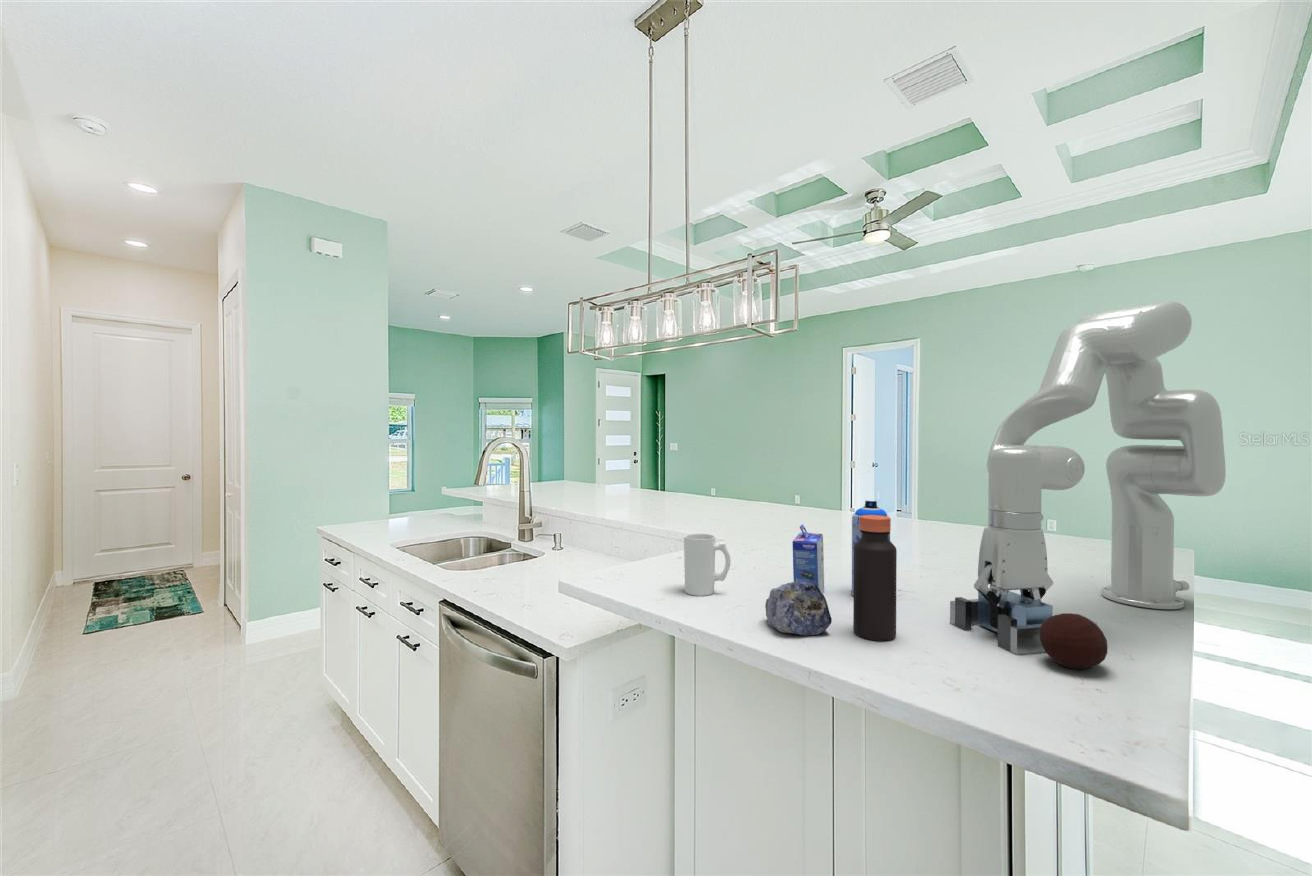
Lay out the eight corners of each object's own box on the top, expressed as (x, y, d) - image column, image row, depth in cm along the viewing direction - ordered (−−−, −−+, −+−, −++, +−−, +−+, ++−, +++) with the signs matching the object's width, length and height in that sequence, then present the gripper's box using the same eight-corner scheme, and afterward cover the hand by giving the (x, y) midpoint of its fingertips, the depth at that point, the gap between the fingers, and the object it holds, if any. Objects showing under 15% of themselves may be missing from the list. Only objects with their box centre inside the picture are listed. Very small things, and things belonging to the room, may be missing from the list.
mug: (680, 595, 117) (680, 538, 117) (688, 586, 123) (688, 532, 123) (727, 599, 114) (727, 541, 114) (733, 590, 120) (733, 535, 120)
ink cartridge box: (798, 586, 123) (799, 521, 123) (824, 589, 121) (824, 523, 121) (791, 598, 114) (791, 528, 114) (819, 602, 112) (819, 530, 112)
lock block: (1002, 621, 99) (1002, 587, 99) (1052, 642, 90) (1052, 604, 89) (978, 623, 98) (978, 589, 98) (1026, 645, 89) (1026, 606, 88)
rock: (845, 620, 94) (814, 568, 95) (797, 654, 91) (766, 601, 92) (816, 613, 104) (789, 566, 105) (773, 643, 102) (745, 595, 102)
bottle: (887, 645, 90) (887, 521, 89) (846, 634, 94) (847, 517, 94) (902, 633, 95) (902, 516, 94) (862, 624, 99) (863, 512, 99)
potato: (1023, 659, 84) (1024, 608, 84) (1069, 652, 87) (1070, 603, 87) (1077, 682, 76) (1077, 626, 76) (1126, 674, 79) (1126, 620, 79)
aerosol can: (848, 598, 114) (849, 501, 114) (852, 588, 122) (853, 497, 121) (890, 603, 111) (890, 504, 111) (891, 593, 118) (892, 499, 118)
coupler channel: (1021, 617, 103) (1021, 590, 103) (1096, 647, 89) (1097, 616, 88) (950, 623, 100) (950, 595, 100) (1016, 654, 86) (1017, 622, 86)
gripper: (1037, 515, 99) (1036, 617, 99) (954, 519, 96) (953, 623, 96) (1076, 522, 92) (1076, 632, 92) (988, 526, 88) (987, 640, 89)
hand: (1013, 626), depth 94 cm, fingers closed on lock block, 5 cm apart
